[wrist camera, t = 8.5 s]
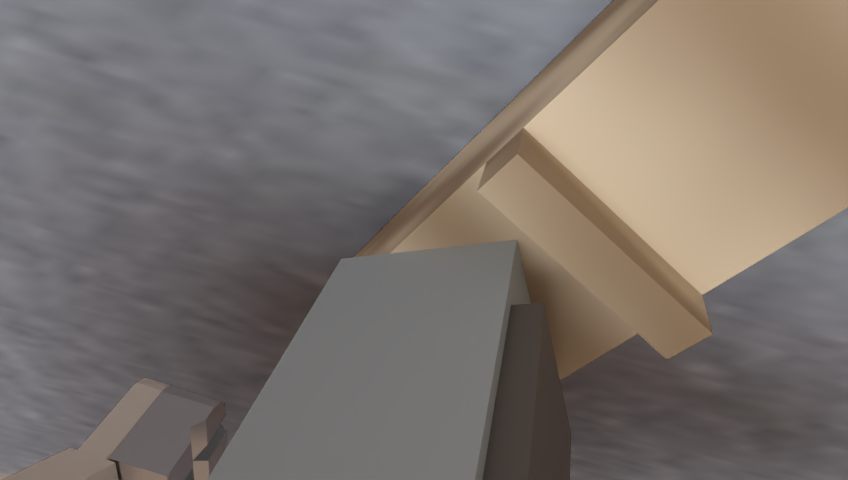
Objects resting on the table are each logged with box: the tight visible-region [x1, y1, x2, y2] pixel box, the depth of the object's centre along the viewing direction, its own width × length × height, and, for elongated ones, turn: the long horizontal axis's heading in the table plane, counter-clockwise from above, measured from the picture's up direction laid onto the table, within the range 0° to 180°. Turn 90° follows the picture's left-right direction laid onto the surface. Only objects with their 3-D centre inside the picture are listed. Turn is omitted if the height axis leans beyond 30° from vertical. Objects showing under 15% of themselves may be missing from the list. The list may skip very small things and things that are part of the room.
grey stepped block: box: [207, 240, 571, 480], centre depth 11 cm, size 5×4×7 cm
